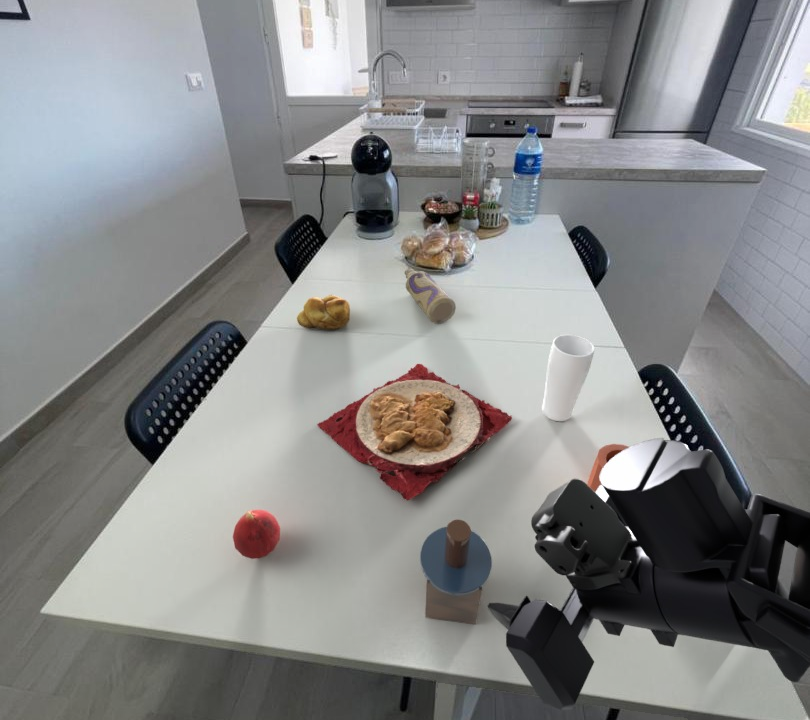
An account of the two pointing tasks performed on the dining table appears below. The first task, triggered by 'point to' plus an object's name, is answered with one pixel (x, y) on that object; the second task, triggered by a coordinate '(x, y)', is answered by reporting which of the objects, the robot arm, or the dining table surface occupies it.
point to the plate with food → (414, 428)
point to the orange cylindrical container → (603, 463)
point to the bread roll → (325, 313)
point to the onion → (256, 534)
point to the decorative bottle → (429, 296)
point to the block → (452, 605)
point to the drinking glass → (566, 375)
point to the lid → (456, 559)
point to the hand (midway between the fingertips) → (515, 572)
